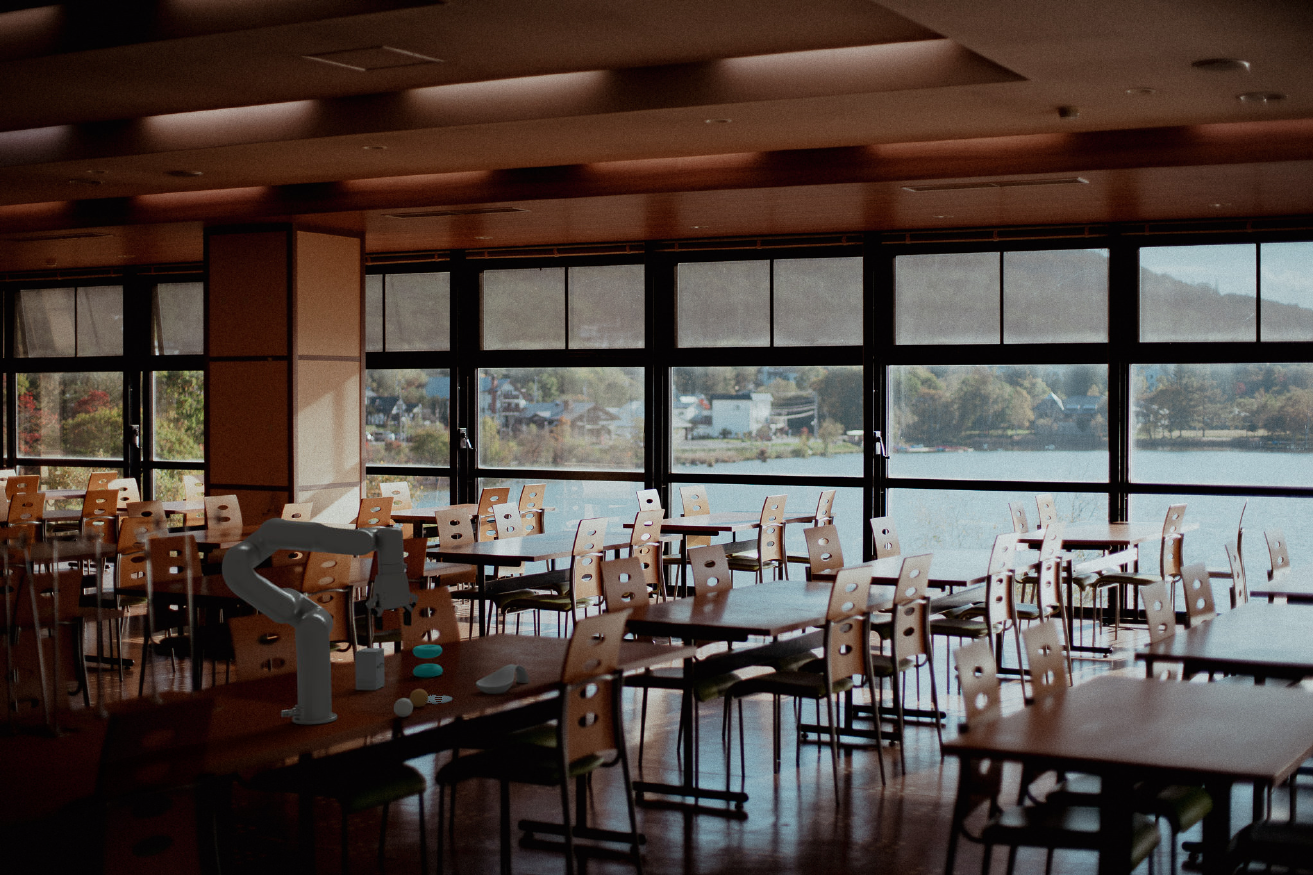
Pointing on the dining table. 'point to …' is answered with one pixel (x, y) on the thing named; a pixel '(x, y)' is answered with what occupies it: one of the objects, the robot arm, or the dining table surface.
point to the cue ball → (403, 707)
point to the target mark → (433, 701)
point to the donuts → (427, 669)
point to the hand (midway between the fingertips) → (393, 627)
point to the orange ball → (419, 697)
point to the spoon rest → (502, 679)
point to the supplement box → (369, 668)
